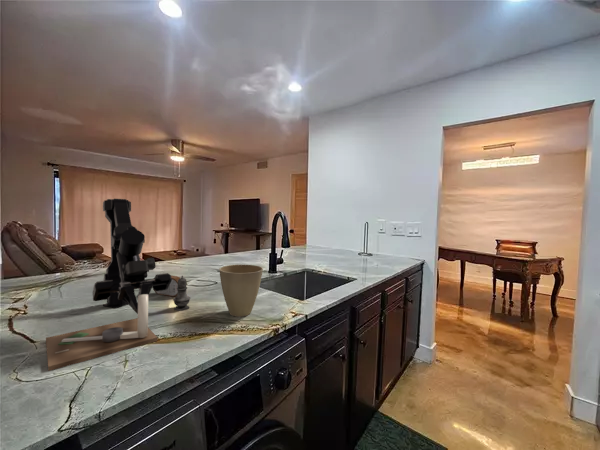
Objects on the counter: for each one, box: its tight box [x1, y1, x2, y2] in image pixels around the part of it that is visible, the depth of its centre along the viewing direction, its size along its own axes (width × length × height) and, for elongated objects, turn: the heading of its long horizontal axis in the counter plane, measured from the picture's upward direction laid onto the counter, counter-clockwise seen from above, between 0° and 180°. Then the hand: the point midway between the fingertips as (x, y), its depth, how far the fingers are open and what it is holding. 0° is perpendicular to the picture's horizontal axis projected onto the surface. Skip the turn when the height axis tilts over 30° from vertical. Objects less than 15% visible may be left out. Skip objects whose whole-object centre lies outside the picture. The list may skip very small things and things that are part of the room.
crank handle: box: [62, 294, 149, 342], centre depth 70 cm, size 19×4×11 cm, turn 105°
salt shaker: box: [172, 275, 191, 312], centre depth 98 cm, size 6×6×12 cm
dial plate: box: [45, 317, 158, 372], centre depth 72 cm, size 22×18×1 cm
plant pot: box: [219, 263, 264, 318], centre depth 95 cm, size 15×15×16 cm
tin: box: [153, 274, 181, 298], centre depth 113 cm, size 15×3×8 cm, turn 71°
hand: (140, 312), depth 73 cm, fingers closed
